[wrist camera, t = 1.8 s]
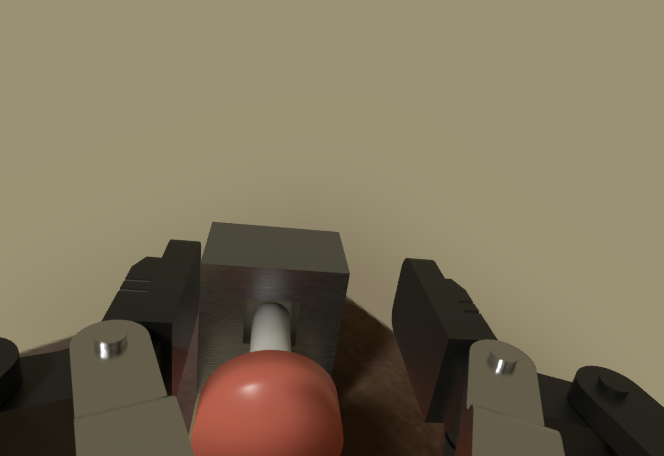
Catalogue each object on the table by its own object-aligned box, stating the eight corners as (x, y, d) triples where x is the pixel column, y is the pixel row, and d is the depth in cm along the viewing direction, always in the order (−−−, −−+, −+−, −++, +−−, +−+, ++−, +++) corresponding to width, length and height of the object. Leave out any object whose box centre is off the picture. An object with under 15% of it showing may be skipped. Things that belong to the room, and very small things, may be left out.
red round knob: (214, 358, 33) (218, 266, 30) (318, 362, 34) (331, 274, 31) (189, 497, 24) (192, 383, 21) (332, 496, 25) (354, 389, 22)
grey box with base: (207, 358, 39) (212, 221, 34) (318, 362, 41) (338, 232, 36) (173, 528, 27) (174, 350, 22) (336, 526, 28) (372, 359, 23)
